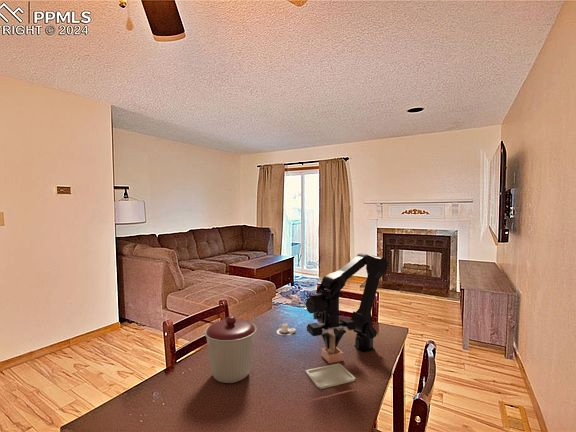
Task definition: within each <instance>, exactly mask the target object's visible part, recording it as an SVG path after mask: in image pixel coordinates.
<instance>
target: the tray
mask: <svg viewBox="0 0 576 432" xmlns="http://www.w3.org/2000/svg"><path fill="white" fill-rule="evenodd" d="M304 372H305V374H306V375H307V376H308V377H309V379H310V380H311V381H312V382H313V383H314V386H316V387H317V388H318V390H323V389H327V388H330V387H335V386H336V387H337V386H339V385H340V386H341V385H342V384H343V385H344V384H347V383H352V382H356V381H357V378H356V377H355V375H353V374H352V373H351V372H350V371H349V370H348V369H346V367H345V366H344V365H342V364H341V363H340V362H336V363H332V364H328V365H324V366H320V367H319V366H318V367H314V368H310V369H305V371H304Z"/></svg>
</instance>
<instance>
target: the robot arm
mask: <svg viewBox="0 0 576 432" xmlns="http://www.w3.org/2000/svg"><path fill="white" fill-rule="evenodd" d="M388 266H389V262H388V261H387V258H385V257H383V256H382V257H381V256H377V255H369V254H366V253H358V254H356V256H355V257H354V258H353V259H351V260H350V261H348V263H346V264H345V265H344V266H342V267H341V268H339V270H337V271H334V272H330V273H328V274H326V275H325V276H323V278H322V279H321V283H320V284H319V286H318V288H317V290H316V292H315V293H313V294H311V293H310V294H309V295H308V298H307V299H306V301H305V307H306V310H307V312H308V313H309V314H310V315H311V314H312V316H313V320H317V322H312V323H308V324H307V325H306V331H307V332H308V333H309V334H310V335H311V336H312V337H318V336H321V337H322V339H323V343H324V345H325V348H327V349H329V342H330V334H331V333H329V330H333V334H334V335H335V348H336V347H337V348H338V345H339V343H340V341H341V339H342V338H343V336H344V334H347V331H346V330H345V328H347V330H349V331H353V332H354V333H355V338H354V339H355V343H354V345H353V346H354V348H355V349H357V350H358V351H360V352H361V353H367V352H372V351H376V348H375V347H374V338H376V337H377V334H378V331H377V330H376V328H375V327H374V326H373V323H374V322H373V321H374V320H373V316H372V315H373V314H372V311H373V306H374V301H375V298H376V295H377V290H378V285H379V283H380V280H381V278H382V277H383V276H384V275H385V274H386V271H387V269H388ZM364 267H365V269H366V274H367V277H366V280H365V285H364V288H363V292H362V296H361V300H360V304H359V308H357V310H356V311H352V313H351V314H352V315H351V318H349V317H345V318H340V316H341V314H342V312H340V298H342V297H344V294H343V293H342V292H341V290H342V289H343V288H344V287H345V286H346V282H348V280H349V279H350V278H351V277H353V276H354V275H355V274H356V273H358V272H359V271H360V270H361V269H362V268H364ZM318 322H320V323H321V324H318Z"/></svg>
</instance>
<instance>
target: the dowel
mask: <svg viewBox="0 0 576 432" xmlns="http://www.w3.org/2000/svg"><path fill="white" fill-rule="evenodd" d="M329 334H330V342H329V349H327V352H328V353H329V354H335V335H334V333H329Z"/></svg>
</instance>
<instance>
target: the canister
mask: <svg viewBox="0 0 576 432" xmlns="http://www.w3.org/2000/svg"><path fill="white" fill-rule="evenodd" d="M257 329H258V328H257V325H255V324H254V323H253V322H250V321H249V320H246V319H242V318H236V317H235V316H233V315H228V316H227V317H226V318H225V319H222V320H218V321H216V322H213V323H212V324H210V325H208V326H207V327H206V328H205V329H204V333H203V334H204V336H205V337H206V343H207V351H208V353H207V354H208V359H209V367H210V372H211V375H212V377H213V378H214V380H216V381H217V382H219V383H225V384H234V383H237V382H239V381H242V380H244V379H246V378H247V376H248V375H249V373H250V371H251V368H252V360H253V353H254V352H253V351H254V343H255V334H256V332H257Z"/></svg>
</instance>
